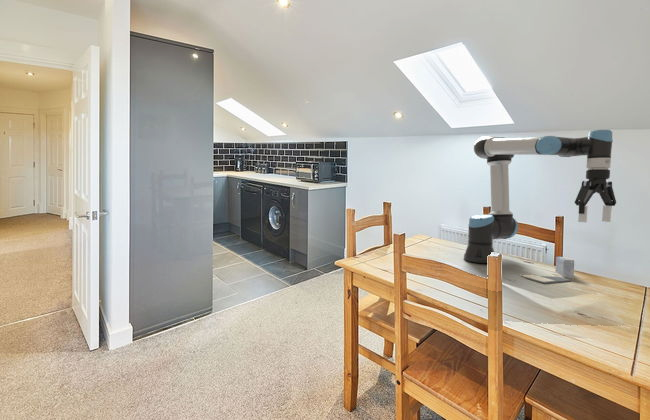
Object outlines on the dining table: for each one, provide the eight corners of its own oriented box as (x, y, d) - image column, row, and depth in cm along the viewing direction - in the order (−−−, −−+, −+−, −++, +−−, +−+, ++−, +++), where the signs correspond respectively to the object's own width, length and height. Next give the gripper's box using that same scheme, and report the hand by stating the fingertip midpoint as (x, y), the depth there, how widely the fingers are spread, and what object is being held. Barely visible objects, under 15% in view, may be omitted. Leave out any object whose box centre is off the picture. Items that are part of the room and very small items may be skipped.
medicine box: (573, 279, 153) (575, 260, 153) (562, 278, 154) (563, 259, 154) (565, 275, 161) (566, 256, 161) (554, 274, 162) (555, 256, 161)
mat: (516, 275, 158) (516, 274, 158) (542, 273, 163) (542, 272, 163) (544, 284, 144) (544, 282, 144) (571, 281, 149) (571, 279, 149)
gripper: (585, 167, 129) (581, 223, 130) (629, 169, 137) (626, 222, 138) (566, 168, 136) (562, 221, 138) (609, 170, 144) (605, 220, 145)
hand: (594, 221), depth 138 cm, fingers open, 13 cm apart
